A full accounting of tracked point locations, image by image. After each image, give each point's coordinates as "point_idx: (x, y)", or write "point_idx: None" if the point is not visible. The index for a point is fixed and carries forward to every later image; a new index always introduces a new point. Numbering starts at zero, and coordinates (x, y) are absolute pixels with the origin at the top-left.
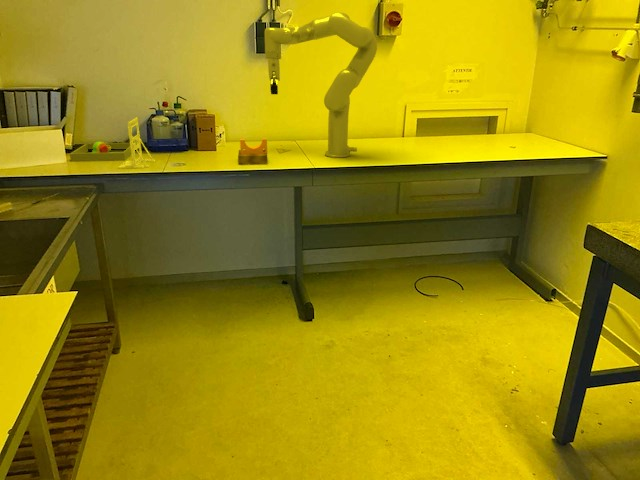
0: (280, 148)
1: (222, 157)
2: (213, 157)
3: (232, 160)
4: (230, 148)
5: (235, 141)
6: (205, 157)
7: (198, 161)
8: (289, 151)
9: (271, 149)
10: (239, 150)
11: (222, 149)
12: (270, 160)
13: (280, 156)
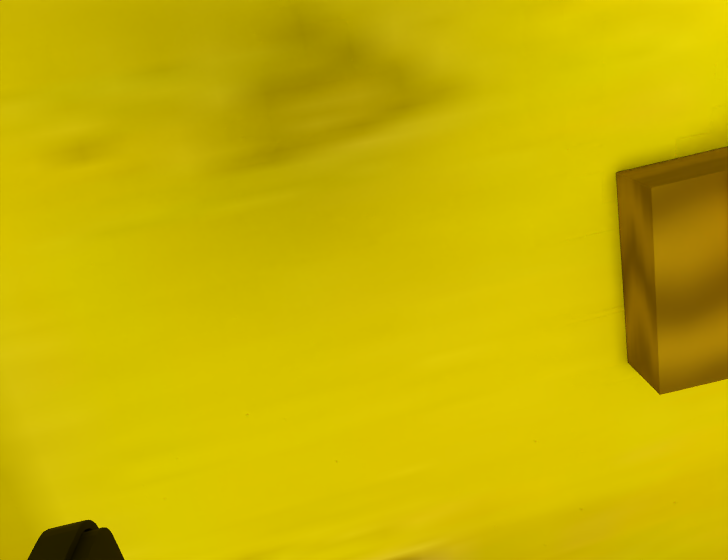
0: (217, 133)
1: (598, 469)
2: (598, 516)
3: None
4: (302, 507)
5: (26, 550)
6: (598, 555)
7: (704, 553)
8: (338, 18)
9: (279, 206)
10: (680, 386)
11: (346, 542)
12: (705, 125)
13: (558, 68)
